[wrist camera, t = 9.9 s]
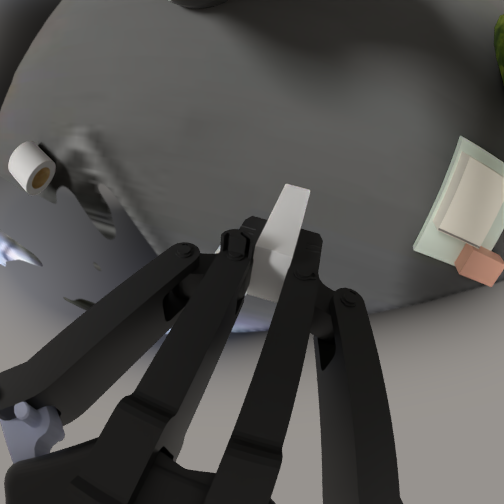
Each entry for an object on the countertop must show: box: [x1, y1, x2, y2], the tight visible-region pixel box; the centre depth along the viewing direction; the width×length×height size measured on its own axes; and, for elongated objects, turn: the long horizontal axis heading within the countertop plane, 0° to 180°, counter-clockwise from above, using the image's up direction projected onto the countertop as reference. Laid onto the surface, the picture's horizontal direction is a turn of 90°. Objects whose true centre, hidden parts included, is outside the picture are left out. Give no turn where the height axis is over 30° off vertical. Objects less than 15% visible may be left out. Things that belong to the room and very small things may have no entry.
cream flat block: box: [433, 151, 504, 249], centre depth 30 cm, size 12×9×3 cm
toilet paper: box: [8, 141, 56, 195], centre depth 49 cm, size 10×10×10 cm
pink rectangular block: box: [454, 243, 504, 287], centre depth 34 cm, size 5×9×3 cm, turn 81°
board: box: [413, 136, 504, 266], centre depth 32 cm, size 20×15×1 cm
